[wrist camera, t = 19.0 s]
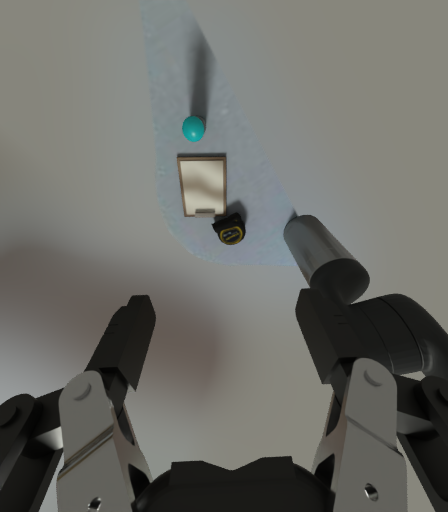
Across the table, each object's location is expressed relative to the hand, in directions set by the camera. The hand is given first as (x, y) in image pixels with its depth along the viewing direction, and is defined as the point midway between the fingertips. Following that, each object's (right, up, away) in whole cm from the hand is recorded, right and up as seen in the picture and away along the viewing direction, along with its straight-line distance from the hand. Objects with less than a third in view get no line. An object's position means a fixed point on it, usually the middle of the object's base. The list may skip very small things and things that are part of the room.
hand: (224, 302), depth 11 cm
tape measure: (+1, +10, +38) cm, 39 cm away
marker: (-5, +26, +25) cm, 37 cm away
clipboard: (-4, +17, +32) cm, 37 cm away
